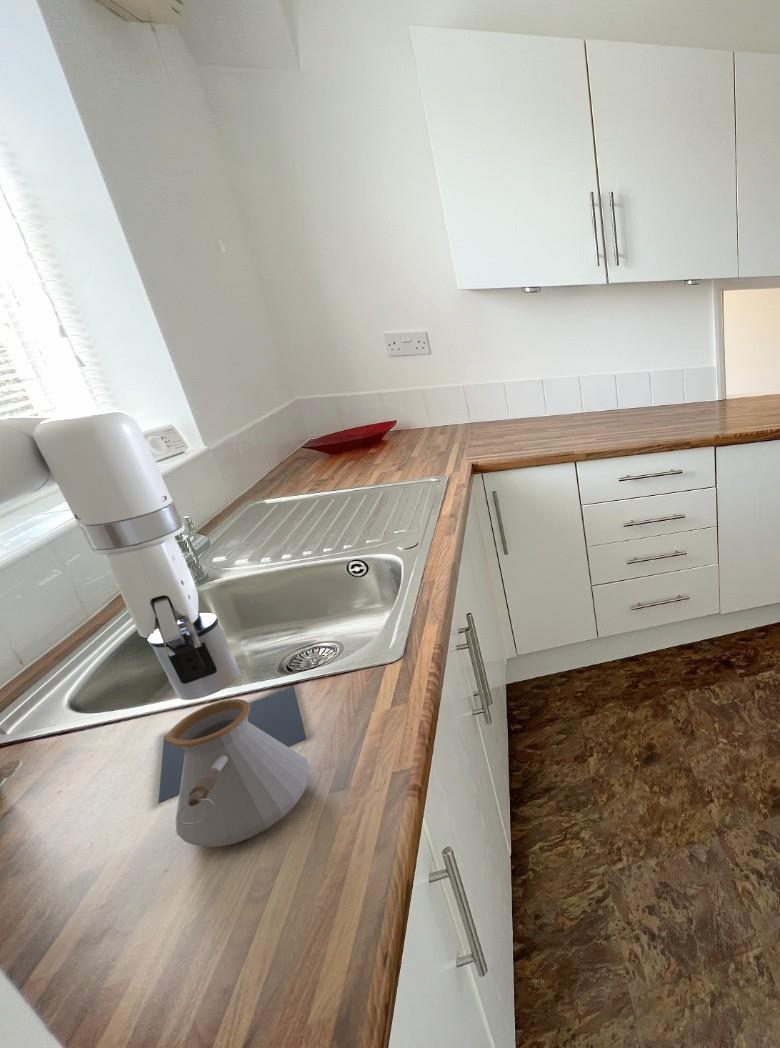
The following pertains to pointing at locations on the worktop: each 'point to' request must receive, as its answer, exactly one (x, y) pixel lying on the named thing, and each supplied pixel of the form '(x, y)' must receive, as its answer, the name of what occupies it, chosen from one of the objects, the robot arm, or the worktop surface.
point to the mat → (267, 714)
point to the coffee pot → (232, 776)
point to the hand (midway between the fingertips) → (199, 663)
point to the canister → (218, 651)
